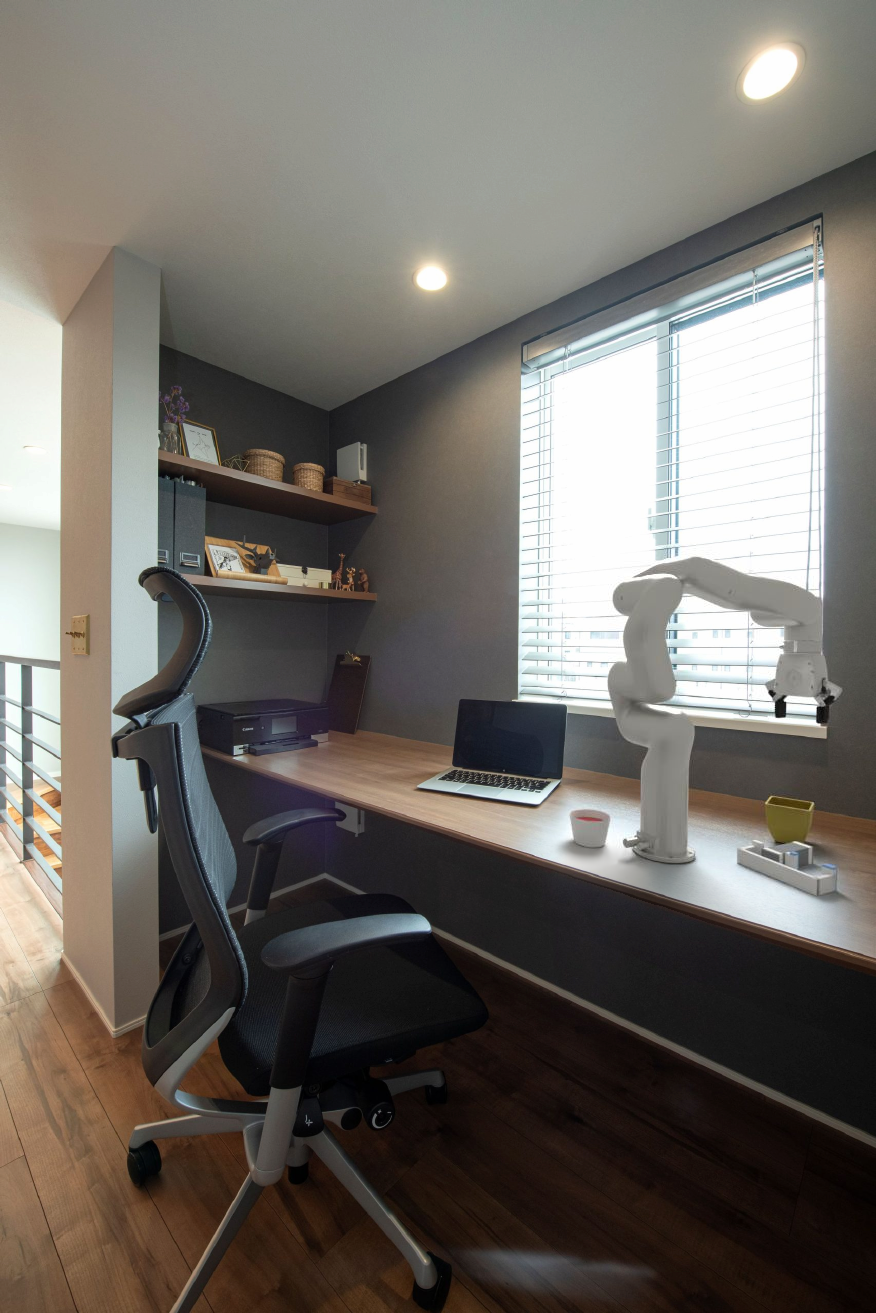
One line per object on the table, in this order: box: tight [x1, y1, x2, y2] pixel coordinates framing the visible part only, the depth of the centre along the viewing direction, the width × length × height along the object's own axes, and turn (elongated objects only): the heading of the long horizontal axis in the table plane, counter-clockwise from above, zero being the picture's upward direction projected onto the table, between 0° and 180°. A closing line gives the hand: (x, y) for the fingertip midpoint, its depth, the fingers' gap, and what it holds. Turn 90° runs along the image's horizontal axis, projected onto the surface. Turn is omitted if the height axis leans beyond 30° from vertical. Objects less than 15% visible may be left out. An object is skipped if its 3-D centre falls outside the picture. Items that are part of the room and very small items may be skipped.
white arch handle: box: [736, 839, 838, 897], centre depth 107 cm, size 6×16×4 cm, turn 23°
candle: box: [569, 808, 611, 849], centre depth 124 cm, size 9×9×6 cm
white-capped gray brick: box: [761, 841, 814, 868], centre depth 113 cm, size 11×4×4 cm, turn 113°
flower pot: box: [764, 795, 815, 844], centre depth 125 cm, size 9×9×9 cm
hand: (800, 720), depth 130 cm, fingers open, 9 cm apart
